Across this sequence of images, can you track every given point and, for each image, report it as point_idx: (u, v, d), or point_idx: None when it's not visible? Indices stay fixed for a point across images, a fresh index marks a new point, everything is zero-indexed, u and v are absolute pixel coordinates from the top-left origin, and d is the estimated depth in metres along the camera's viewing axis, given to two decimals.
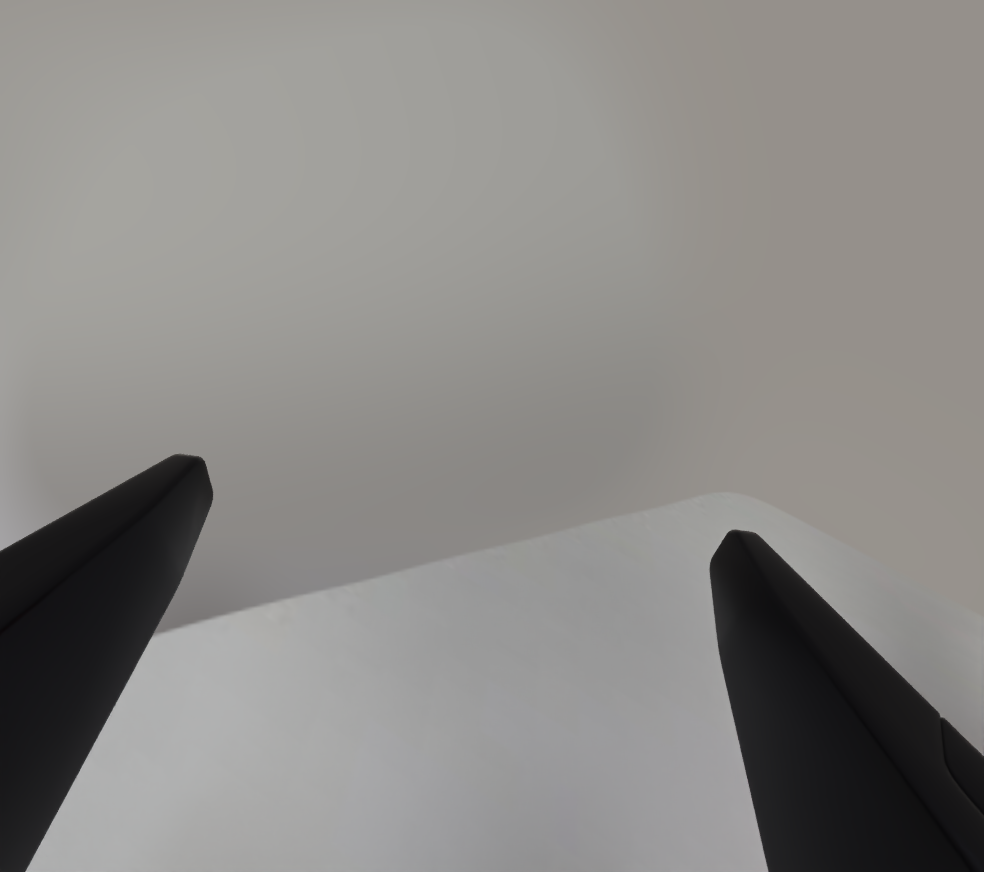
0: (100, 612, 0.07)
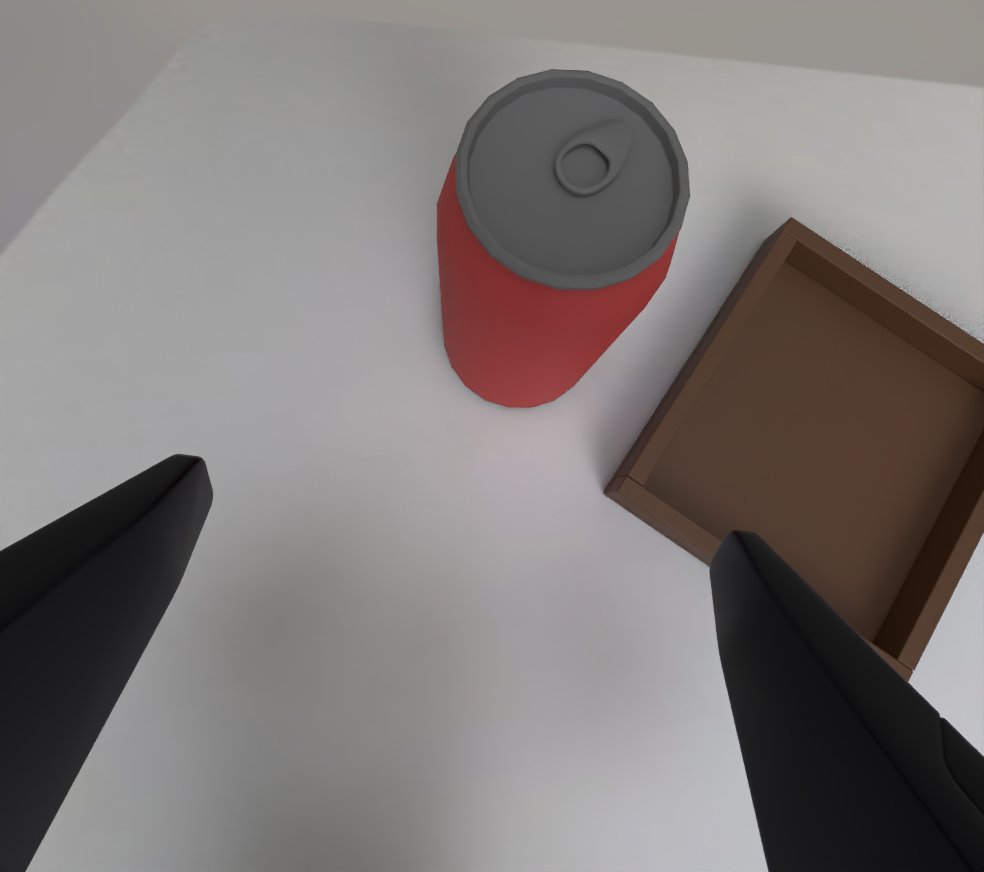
0: (100, 612, 0.07)
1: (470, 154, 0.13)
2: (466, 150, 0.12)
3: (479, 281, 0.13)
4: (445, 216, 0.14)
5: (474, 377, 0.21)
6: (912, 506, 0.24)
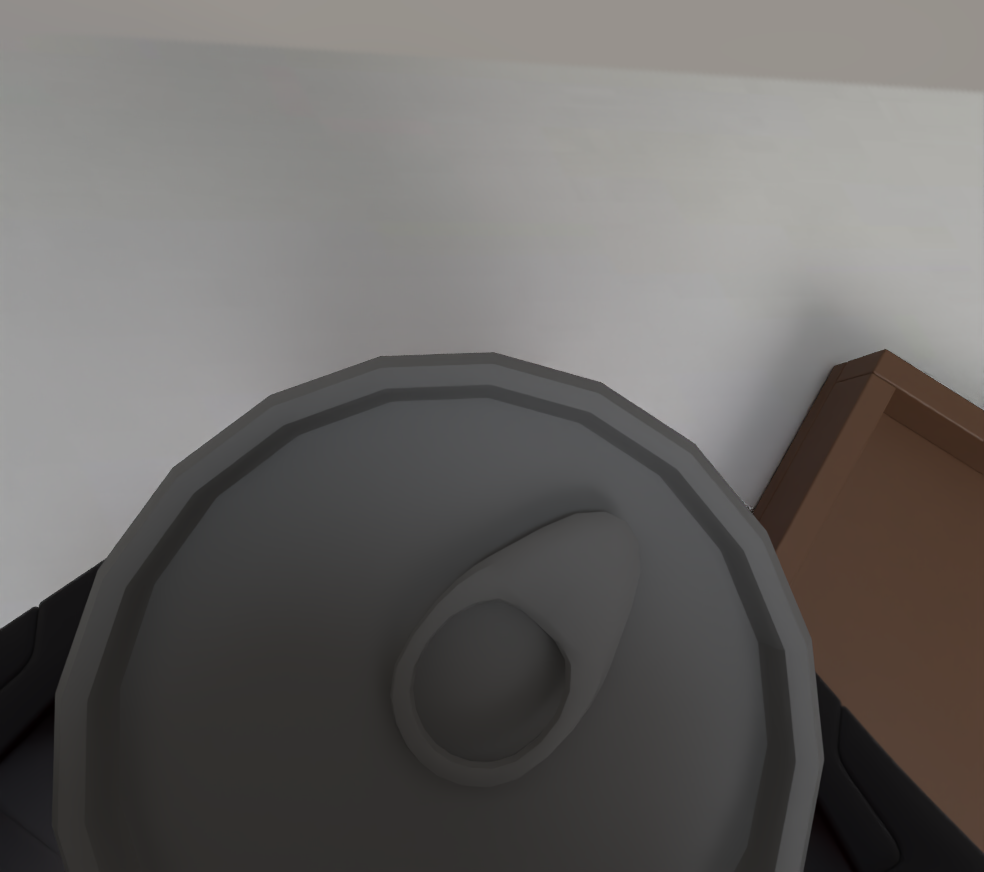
0: None
1: (110, 677, 0.04)
2: (80, 691, 0.04)
3: None
4: None
5: None
6: None
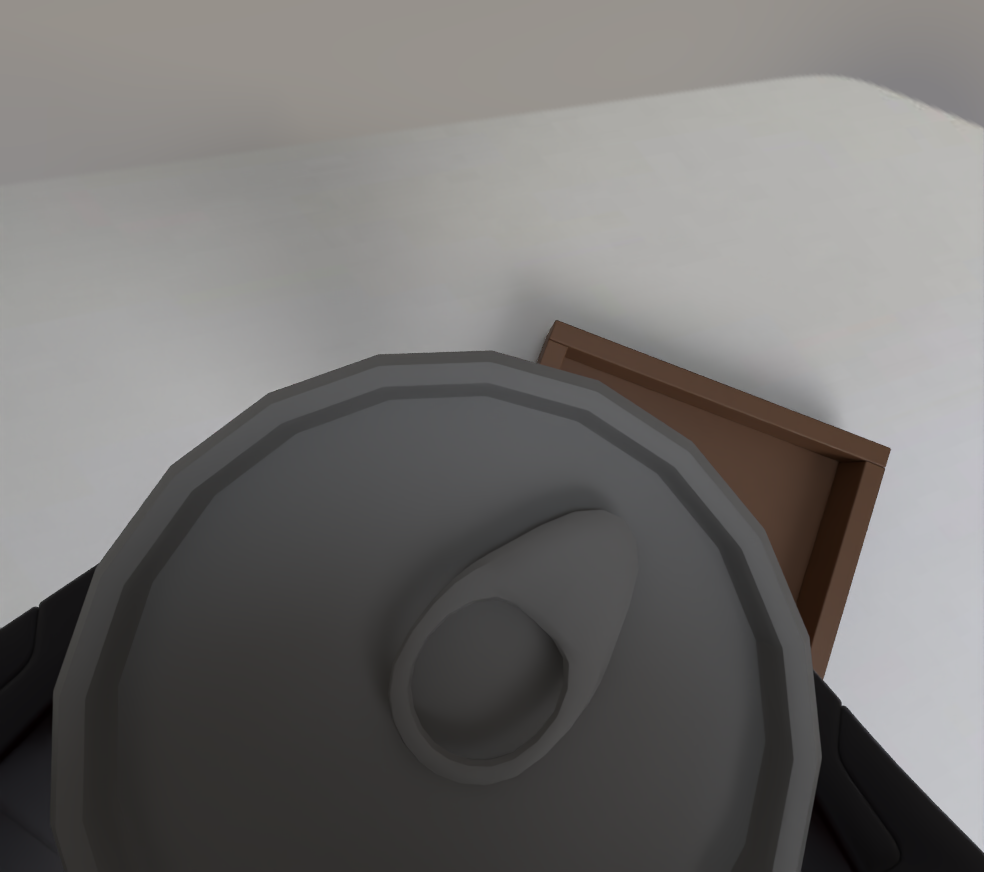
0: None
1: (109, 673, 0.04)
2: (78, 688, 0.04)
3: None
4: None
5: None
6: None
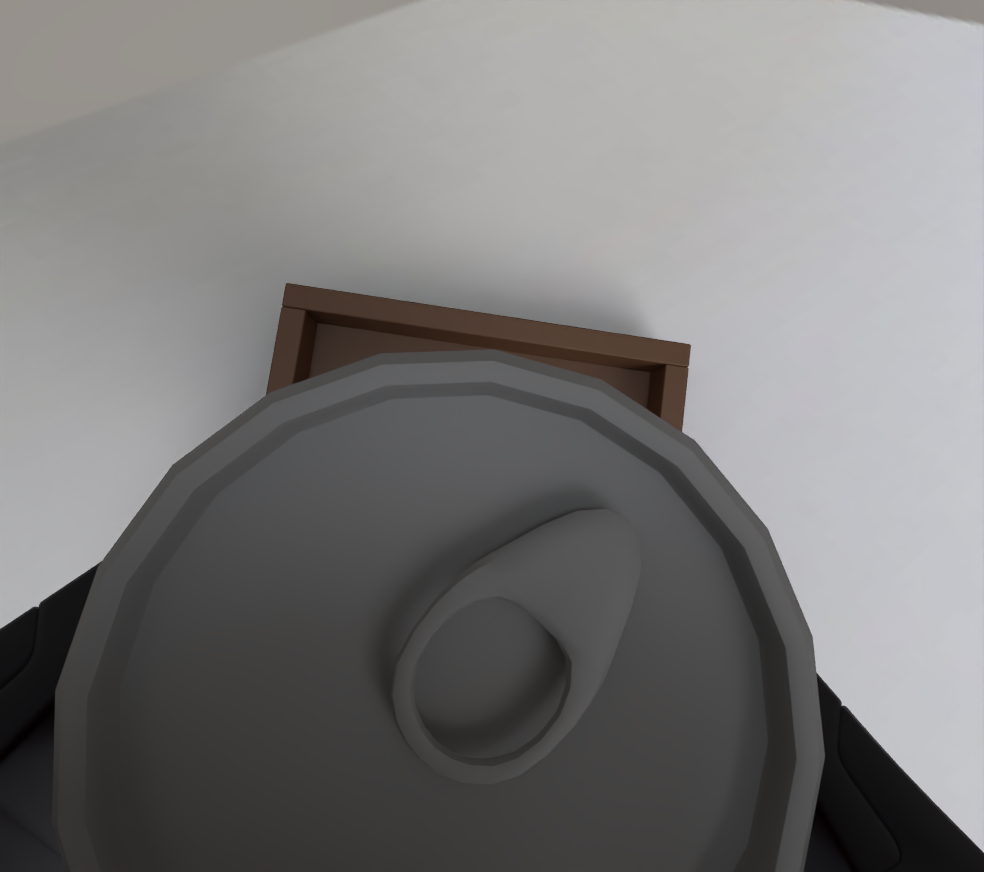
0: None
1: (110, 674, 0.04)
2: (81, 688, 0.04)
3: None
4: None
5: None
6: None
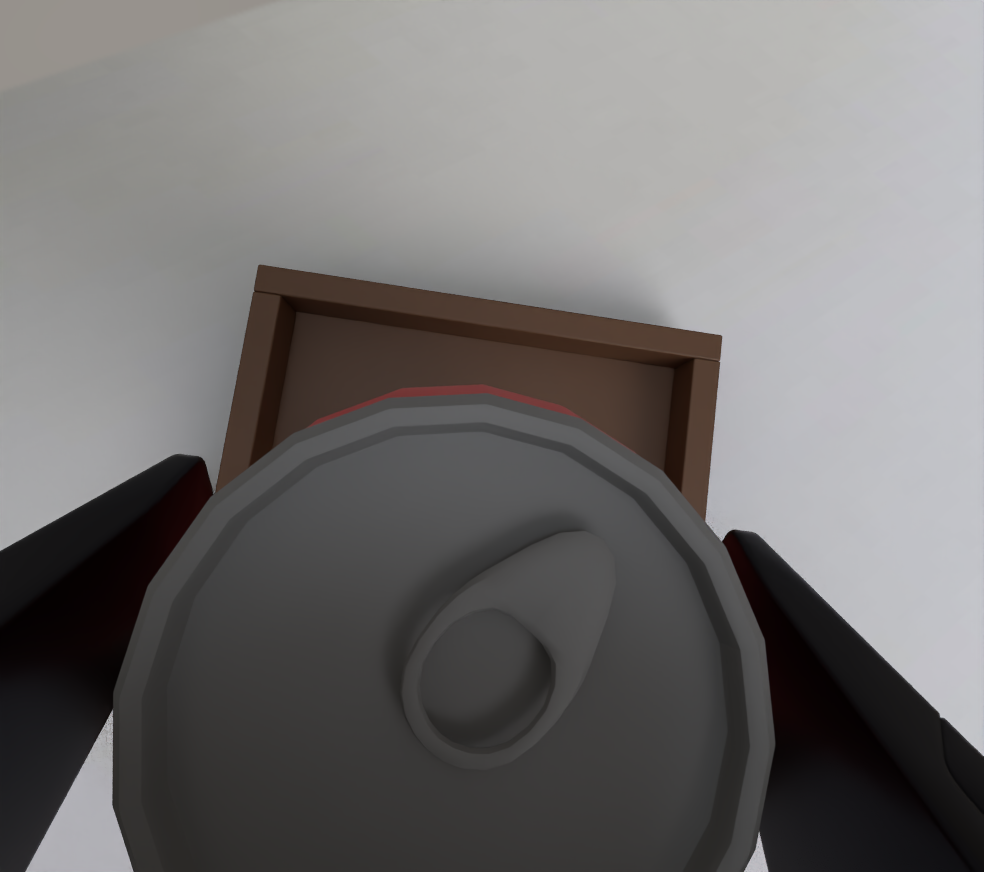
0: (100, 612, 0.07)
1: (159, 678, 0.04)
2: (136, 688, 0.04)
3: None
4: None
5: None
6: None
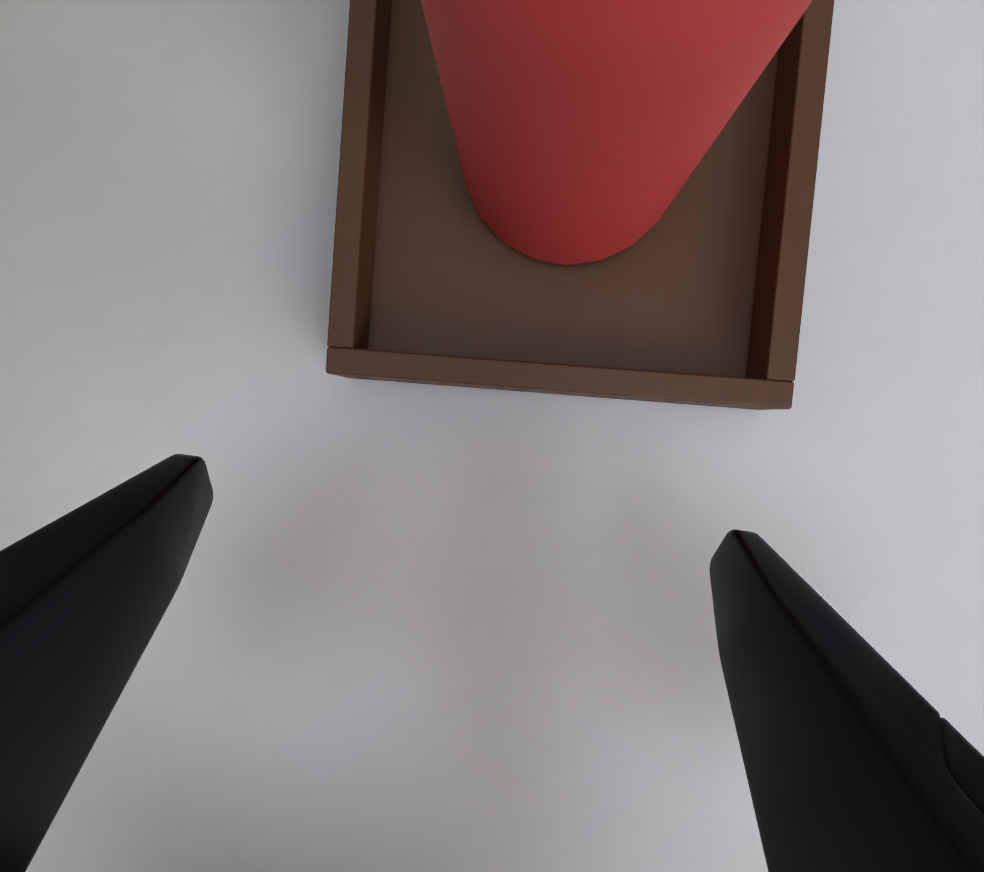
0: (100, 612, 0.07)
1: None
2: None
3: None
4: None
5: (512, 221, 0.14)
6: (726, 171, 0.17)
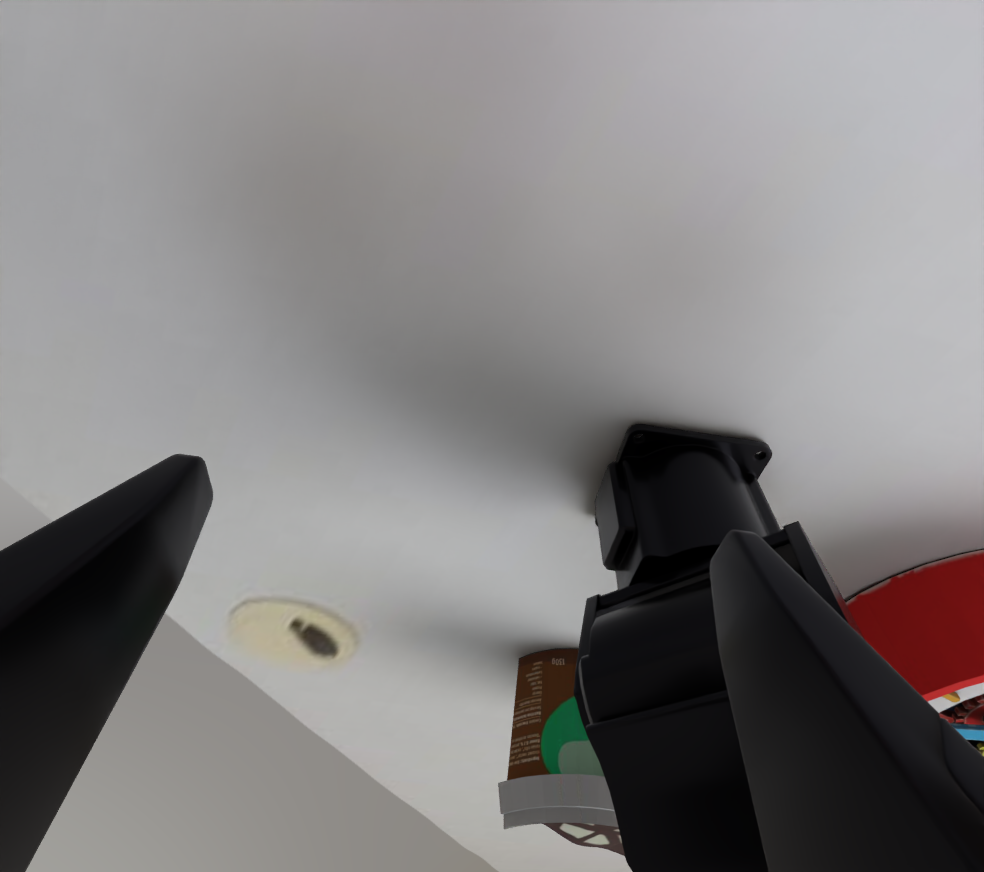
0: (100, 612, 0.07)
1: None
2: None
3: None
4: None
5: None
6: None
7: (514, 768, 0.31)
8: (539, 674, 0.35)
